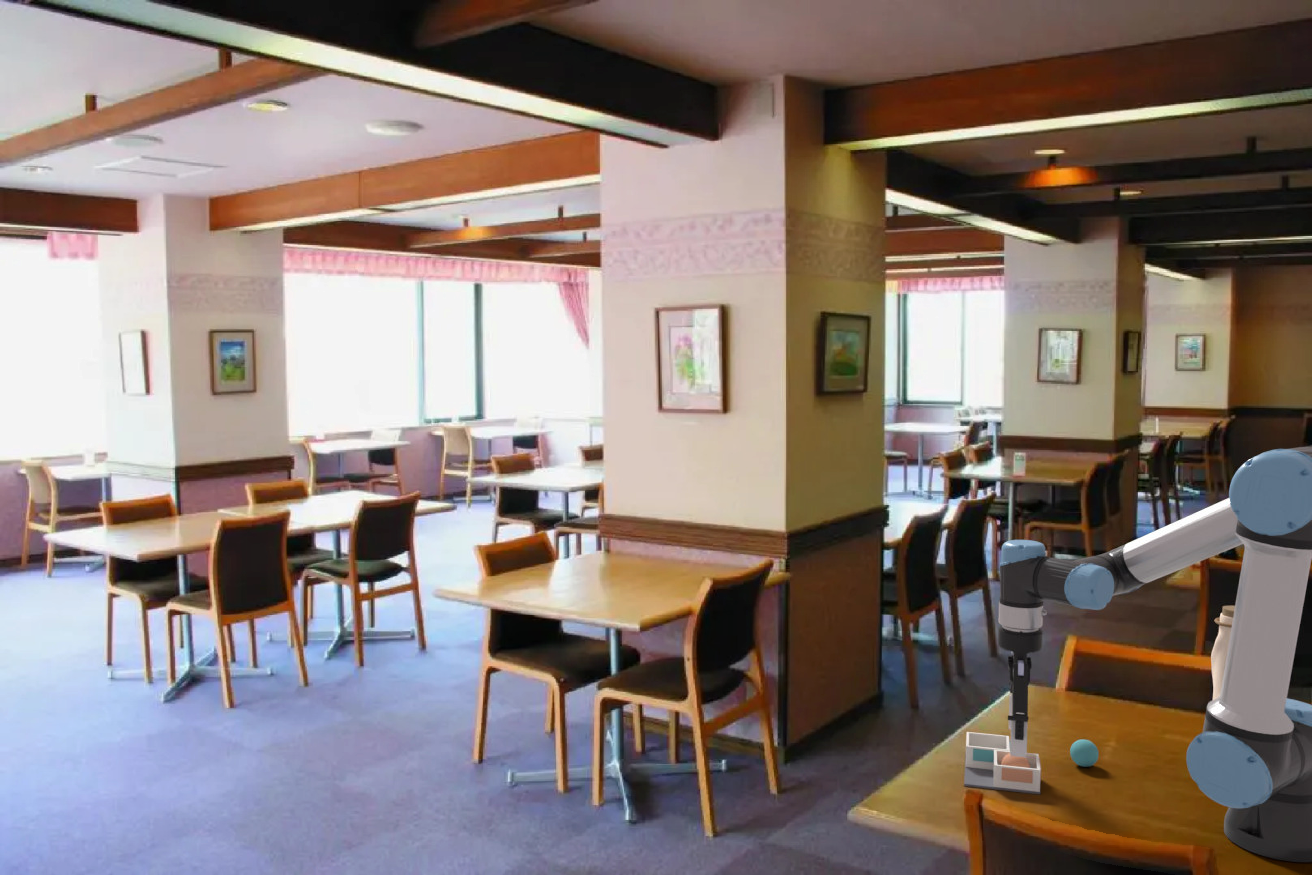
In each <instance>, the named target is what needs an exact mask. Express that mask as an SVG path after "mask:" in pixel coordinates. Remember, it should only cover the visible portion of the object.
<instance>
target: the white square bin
mask: <svg viewBox="0 0 1312 875" xmlns="http://www.w3.org/2000/svg"><path fill="white" fill-rule="evenodd" d="M965 737H966V738H965V754H966V767H971V768H980V769H989V770H993V766H994V750H1004V751H1010V741H1011V739H1010V736H1009V735H1001V734H992V733H991V734H990V733H984V732H983V733H981V732H973V731H972V732H970V731H966V736H965Z"/></svg>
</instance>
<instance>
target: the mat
mask: <svg viewBox="0 0 1312 875" xmlns="http://www.w3.org/2000/svg"><path fill="white" fill-rule="evenodd" d="M964 754H965V759H964V760H965V761H964V779H963V780H964V782H963V786H964V787H970V788H971V787H972V788H979V789H989V790H998V791H1007V792H1016V793H1022V794H1023V793H1024V794H1031V795H1032V794H1033V795H1041V791H1040V792H1035V791H1026V790H1017V789H1008V788H999V787H994V775H993V770H989V769H980V768H971V767H966V753H964Z"/></svg>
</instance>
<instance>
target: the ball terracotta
mask: <svg viewBox="0 0 1312 875" xmlns="http://www.w3.org/2000/svg"><path fill="white" fill-rule="evenodd" d="M1001 765H1006V766H1016V767H1025V768H1030V765H1029V762H1028V760H1027V759H1026V758H1025V757H1018V756H1010V754H1007V755H1006V756H1005V757H1004V758H1003V760H1002V762H1001Z"/></svg>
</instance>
